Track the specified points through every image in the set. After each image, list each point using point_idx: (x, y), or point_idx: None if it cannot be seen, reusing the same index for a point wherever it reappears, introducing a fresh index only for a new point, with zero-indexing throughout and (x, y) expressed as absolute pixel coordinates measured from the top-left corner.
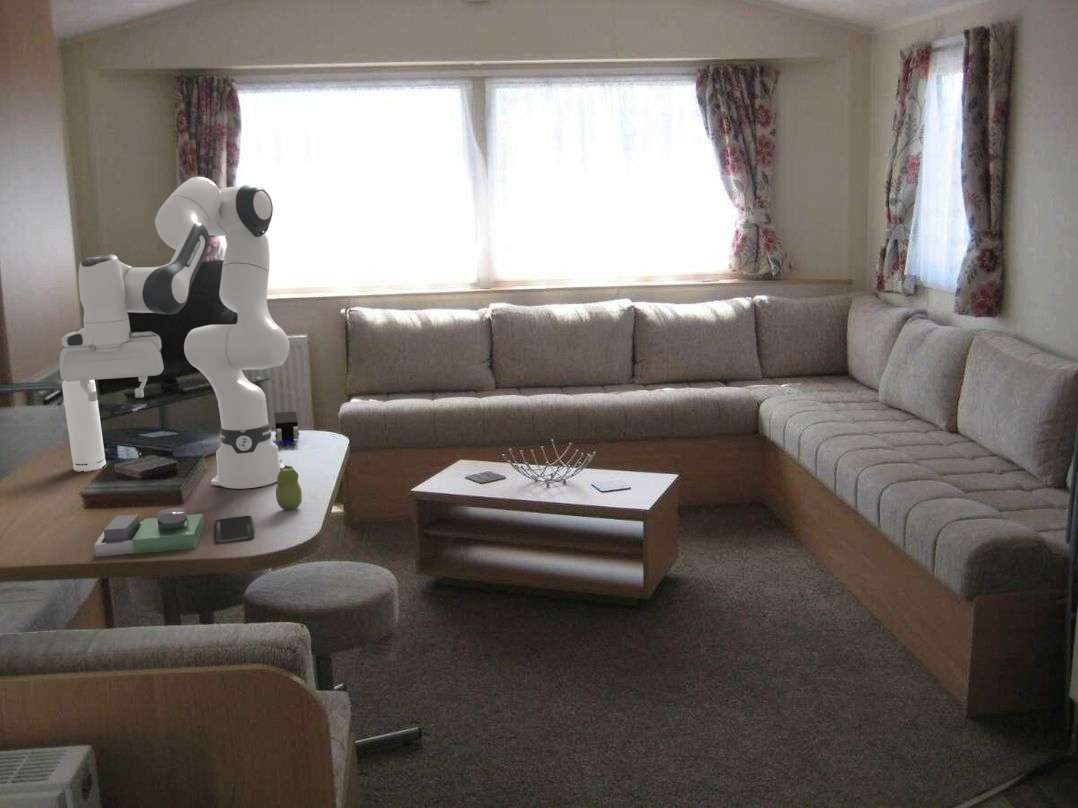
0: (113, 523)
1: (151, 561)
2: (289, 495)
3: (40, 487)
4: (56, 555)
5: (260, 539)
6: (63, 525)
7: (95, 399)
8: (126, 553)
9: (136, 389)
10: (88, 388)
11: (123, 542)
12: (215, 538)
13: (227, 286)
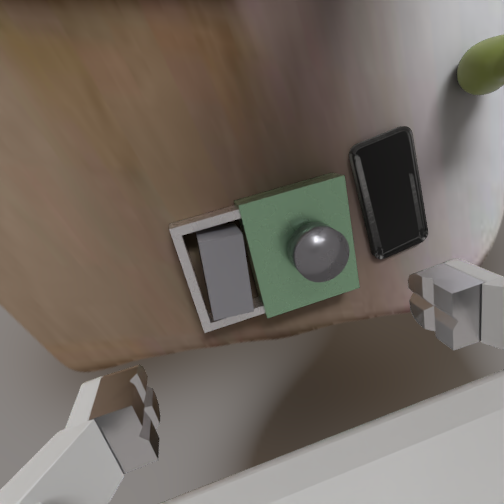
0: (215, 287)
1: (300, 331)
2: (499, 87)
3: None
4: (124, 320)
5: (433, 236)
6: (5, 147)
7: (159, 414)
8: None
9: (463, 330)
10: (78, 494)
11: (250, 317)
12: (374, 250)
13: None
